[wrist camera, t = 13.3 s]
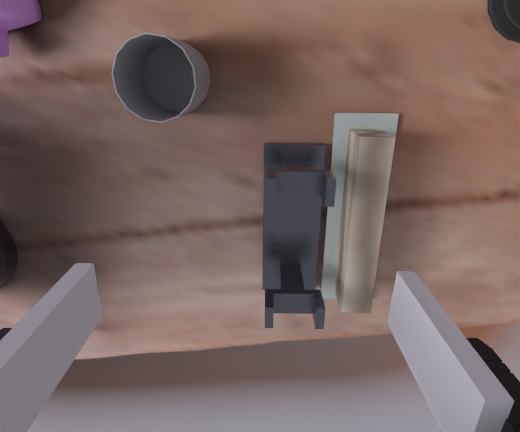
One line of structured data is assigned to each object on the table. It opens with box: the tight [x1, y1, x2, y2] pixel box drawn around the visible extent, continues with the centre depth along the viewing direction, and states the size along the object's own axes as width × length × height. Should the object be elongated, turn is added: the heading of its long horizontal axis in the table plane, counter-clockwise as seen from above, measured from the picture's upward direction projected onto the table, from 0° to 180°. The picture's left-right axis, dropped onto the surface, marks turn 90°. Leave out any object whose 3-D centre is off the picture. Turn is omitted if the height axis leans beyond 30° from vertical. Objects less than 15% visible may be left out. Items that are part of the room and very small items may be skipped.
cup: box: [111, 32, 211, 123], centre depth 41 cm, size 8×8×10 cm
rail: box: [334, 129, 396, 313], centre depth 48 cm, size 4×24×6 cm, turn 0°
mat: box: [321, 112, 399, 299], centre depth 51 cm, size 8×28×1 cm, turn 0°
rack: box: [263, 143, 337, 329], centre depth 46 cm, size 8×22×12 cm, turn 0°
